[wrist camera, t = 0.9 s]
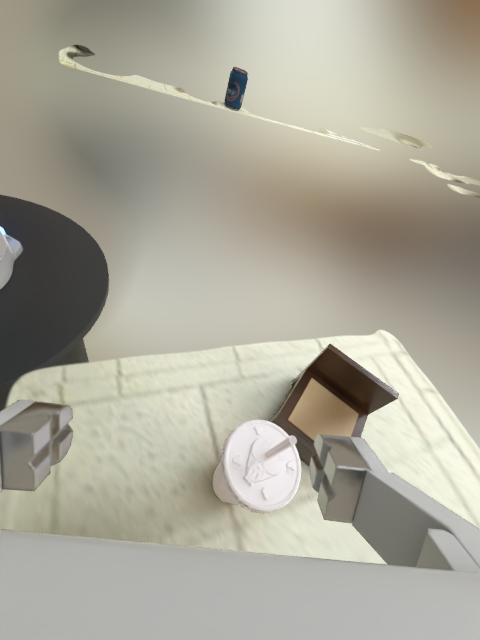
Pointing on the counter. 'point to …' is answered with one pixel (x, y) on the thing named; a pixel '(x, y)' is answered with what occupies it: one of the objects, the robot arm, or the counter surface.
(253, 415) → the counter surface
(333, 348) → the wooden chair
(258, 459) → the smoothie
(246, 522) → the counter surface
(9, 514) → the counter surface
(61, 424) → the robot arm
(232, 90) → the soda can
